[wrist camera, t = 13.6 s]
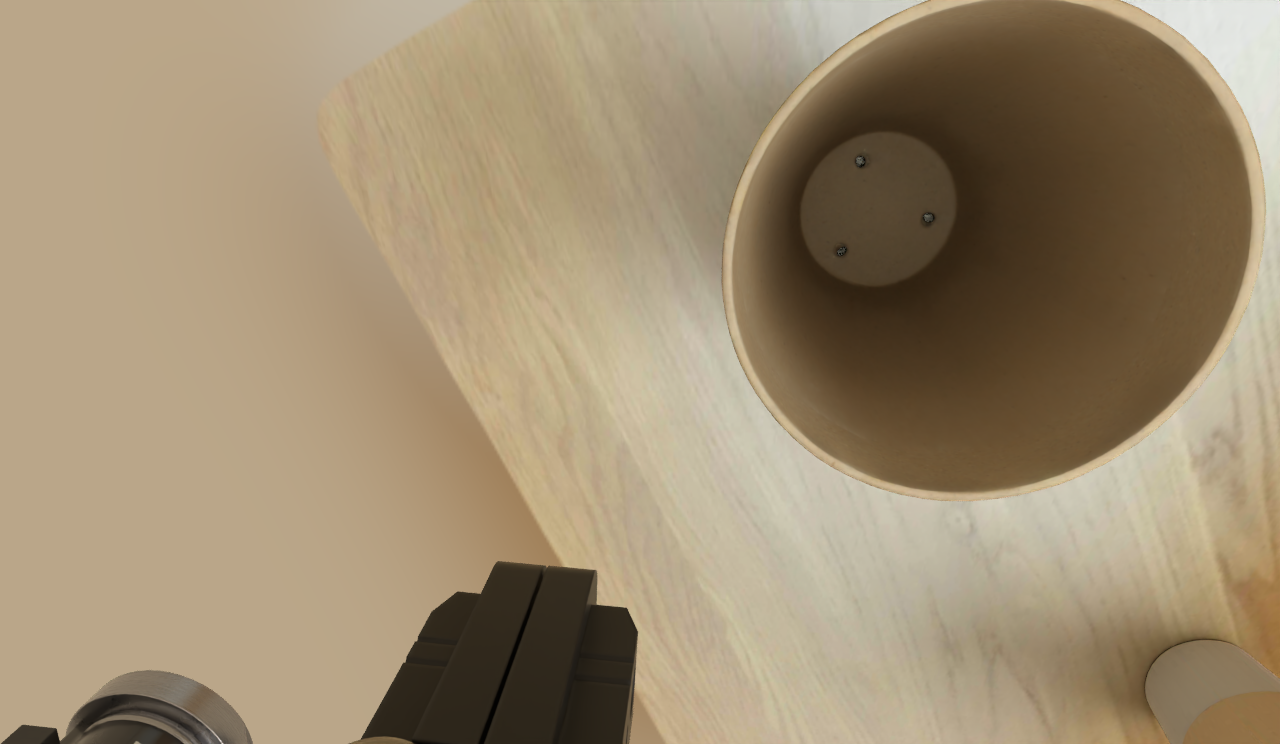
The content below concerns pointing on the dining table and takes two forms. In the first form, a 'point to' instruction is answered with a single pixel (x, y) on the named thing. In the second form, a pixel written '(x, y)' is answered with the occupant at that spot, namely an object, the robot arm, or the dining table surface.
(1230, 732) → the coffee cup
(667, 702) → the dining table surface
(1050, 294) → the plant pot
